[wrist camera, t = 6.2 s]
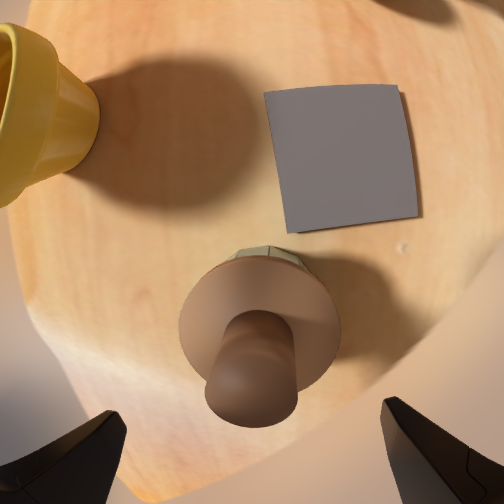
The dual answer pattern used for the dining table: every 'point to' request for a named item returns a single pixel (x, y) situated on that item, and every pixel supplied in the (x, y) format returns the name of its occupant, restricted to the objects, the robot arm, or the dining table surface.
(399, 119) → the mat
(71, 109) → the plant pot
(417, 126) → the dining table surface
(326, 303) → the lid
